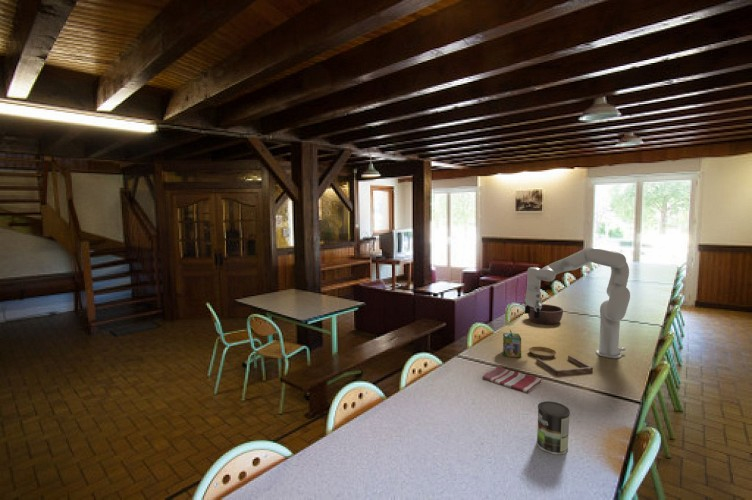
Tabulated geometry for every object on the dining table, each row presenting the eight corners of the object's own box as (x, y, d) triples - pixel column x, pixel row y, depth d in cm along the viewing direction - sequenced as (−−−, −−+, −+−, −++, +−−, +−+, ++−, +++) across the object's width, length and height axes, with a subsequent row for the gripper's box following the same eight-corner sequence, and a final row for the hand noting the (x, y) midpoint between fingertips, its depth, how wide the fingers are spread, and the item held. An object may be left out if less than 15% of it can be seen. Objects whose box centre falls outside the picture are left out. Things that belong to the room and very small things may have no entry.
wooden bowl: (569, 325, 280) (569, 311, 279) (534, 326, 280) (534, 312, 279) (553, 316, 305) (554, 303, 304) (521, 316, 305) (522, 304, 304)
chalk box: (521, 357, 220) (521, 332, 218) (504, 356, 222) (505, 331, 220) (518, 352, 229) (519, 327, 227) (502, 351, 231) (503, 327, 229)
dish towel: (498, 369, 205) (498, 365, 205) (542, 383, 188) (543, 378, 188) (481, 379, 193) (482, 374, 193) (527, 395, 177) (528, 389, 176)
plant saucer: (524, 350, 232) (525, 346, 232) (549, 350, 231) (549, 346, 231) (534, 359, 217) (534, 355, 217) (560, 359, 217) (560, 355, 217)
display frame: (569, 359, 216) (569, 355, 216) (592, 372, 199) (592, 367, 199) (536, 362, 213) (536, 358, 212) (556, 375, 195) (556, 371, 195)
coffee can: (546, 455, 132) (547, 416, 130) (531, 438, 142) (532, 401, 141) (574, 453, 133) (576, 414, 131) (558, 436, 143) (559, 400, 142)
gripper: (547, 290, 225) (546, 319, 226) (530, 284, 241) (529, 311, 243) (536, 291, 223) (534, 319, 225) (519, 285, 240) (518, 312, 242)
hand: (531, 315), depth 234 cm, fingers open, 9 cm apart
